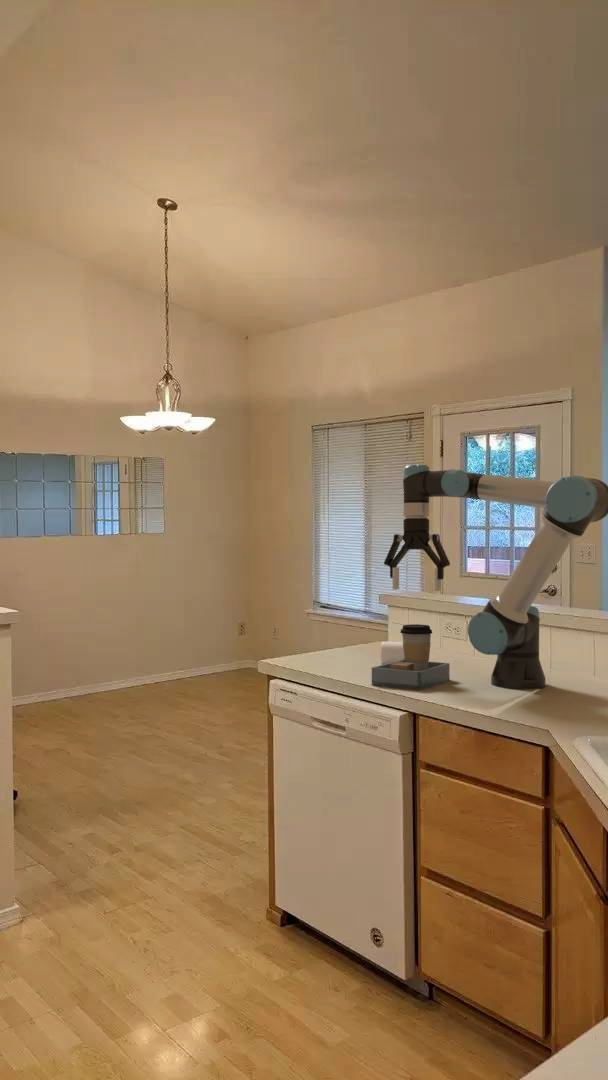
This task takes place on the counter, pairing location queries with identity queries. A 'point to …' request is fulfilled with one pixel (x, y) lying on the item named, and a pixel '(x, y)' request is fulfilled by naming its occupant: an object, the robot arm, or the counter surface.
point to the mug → (391, 652)
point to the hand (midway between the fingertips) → (416, 590)
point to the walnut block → (403, 666)
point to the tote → (410, 676)
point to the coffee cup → (416, 645)
